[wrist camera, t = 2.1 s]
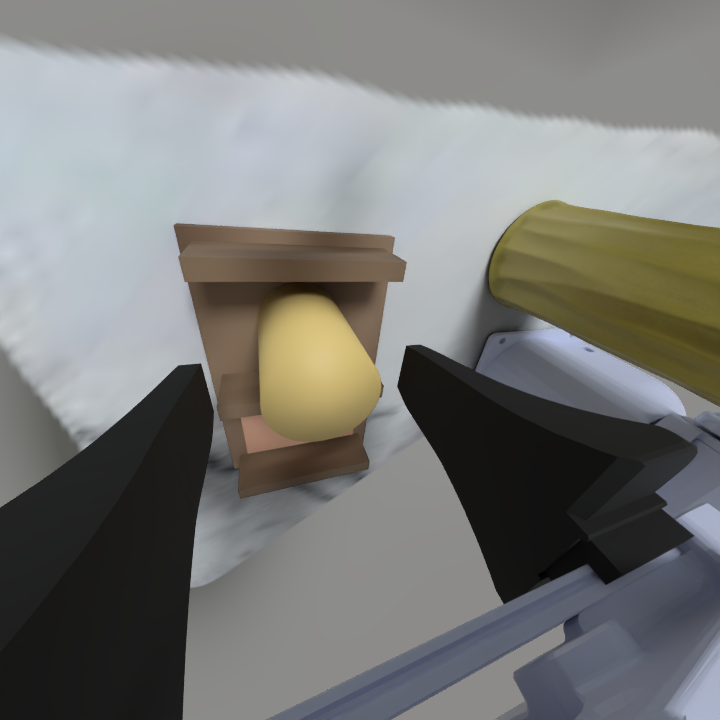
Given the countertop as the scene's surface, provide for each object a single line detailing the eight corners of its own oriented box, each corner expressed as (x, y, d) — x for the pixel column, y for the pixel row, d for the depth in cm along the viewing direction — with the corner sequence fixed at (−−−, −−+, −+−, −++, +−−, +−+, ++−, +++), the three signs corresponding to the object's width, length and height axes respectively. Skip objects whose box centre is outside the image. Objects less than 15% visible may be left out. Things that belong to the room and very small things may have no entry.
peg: (340, 281, 13) (389, 342, 8) (336, 351, 15) (373, 431, 11) (252, 282, 12) (252, 353, 7) (261, 358, 14) (266, 450, 9)
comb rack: (390, 235, 13) (420, 249, 11) (360, 438, 21) (374, 471, 19) (176, 223, 10) (154, 238, 8) (234, 462, 18) (232, 505, 16)
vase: (531, 311, 19) (913, 504, 8) (468, 295, 17) (902, 543, 6) (591, 220, 16) (1301, 321, 5) (526, 182, 14) (1644, 228, 3)
